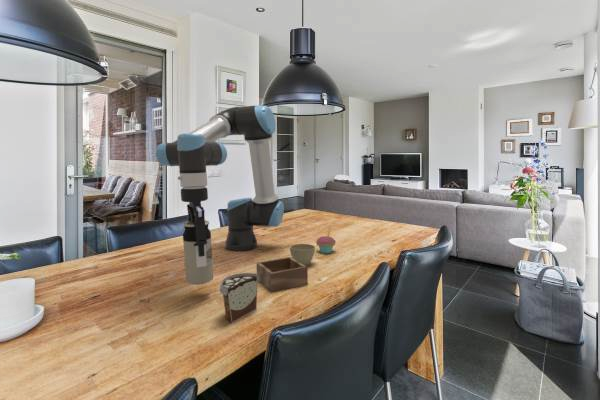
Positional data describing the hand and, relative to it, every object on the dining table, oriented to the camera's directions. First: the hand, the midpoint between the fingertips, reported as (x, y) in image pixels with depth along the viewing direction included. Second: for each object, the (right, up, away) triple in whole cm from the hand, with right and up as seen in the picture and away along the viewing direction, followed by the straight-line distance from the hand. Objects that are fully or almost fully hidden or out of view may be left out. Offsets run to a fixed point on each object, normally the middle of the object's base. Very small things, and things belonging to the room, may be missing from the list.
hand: (198, 262), depth 100 cm
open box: (+24, -9, +12) cm, 29 cm away
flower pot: (+32, -7, +31) cm, 45 cm away
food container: (+13, -12, -10) cm, 21 cm away
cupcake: (+42, -5, +47) cm, 64 cm away
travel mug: (0, -6, +1) cm, 6 cm away
